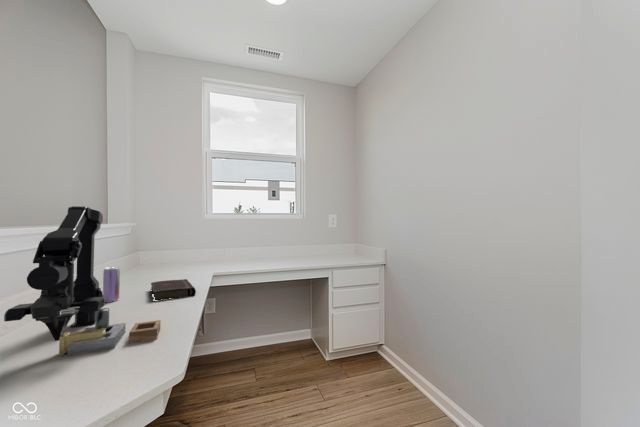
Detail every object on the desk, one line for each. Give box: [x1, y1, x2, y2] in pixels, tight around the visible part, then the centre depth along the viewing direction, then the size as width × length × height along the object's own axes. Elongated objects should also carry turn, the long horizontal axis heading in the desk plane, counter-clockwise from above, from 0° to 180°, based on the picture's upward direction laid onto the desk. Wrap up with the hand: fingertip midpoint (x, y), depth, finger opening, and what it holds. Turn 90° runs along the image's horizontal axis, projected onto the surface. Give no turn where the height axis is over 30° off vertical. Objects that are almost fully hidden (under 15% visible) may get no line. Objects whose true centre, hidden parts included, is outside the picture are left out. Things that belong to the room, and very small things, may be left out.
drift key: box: [58, 328, 105, 356], centre depth 74 cm, size 3×9×5 cm, turn 114°
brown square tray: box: [128, 319, 161, 344], centre depth 83 cm, size 8×7×3 cm
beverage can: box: [102, 266, 121, 303], centre depth 122 cm, size 6×6×15 cm
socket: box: [67, 322, 126, 356], centre depth 78 cm, size 12×10×3 cm
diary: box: [149, 278, 197, 301], centre depth 135 cm, size 19×25×5 cm
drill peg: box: [94, 307, 110, 332], centre depth 80 cm, size 3×3×9 cm
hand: (57, 340), depth 72 cm, fingers closed
